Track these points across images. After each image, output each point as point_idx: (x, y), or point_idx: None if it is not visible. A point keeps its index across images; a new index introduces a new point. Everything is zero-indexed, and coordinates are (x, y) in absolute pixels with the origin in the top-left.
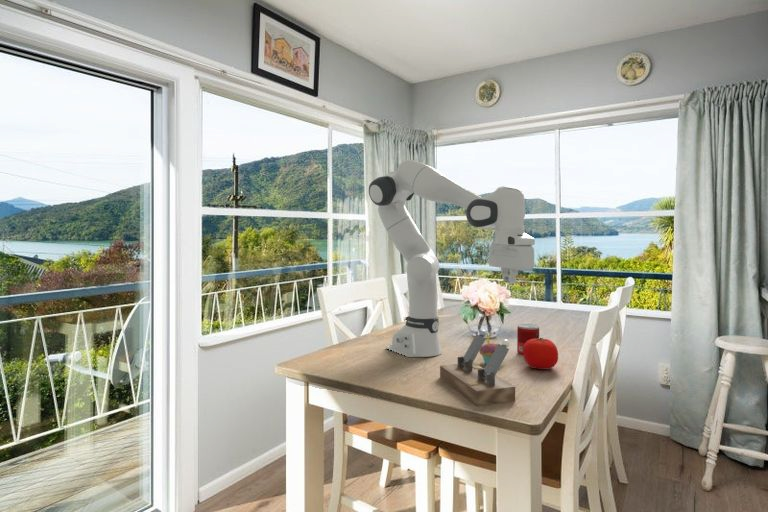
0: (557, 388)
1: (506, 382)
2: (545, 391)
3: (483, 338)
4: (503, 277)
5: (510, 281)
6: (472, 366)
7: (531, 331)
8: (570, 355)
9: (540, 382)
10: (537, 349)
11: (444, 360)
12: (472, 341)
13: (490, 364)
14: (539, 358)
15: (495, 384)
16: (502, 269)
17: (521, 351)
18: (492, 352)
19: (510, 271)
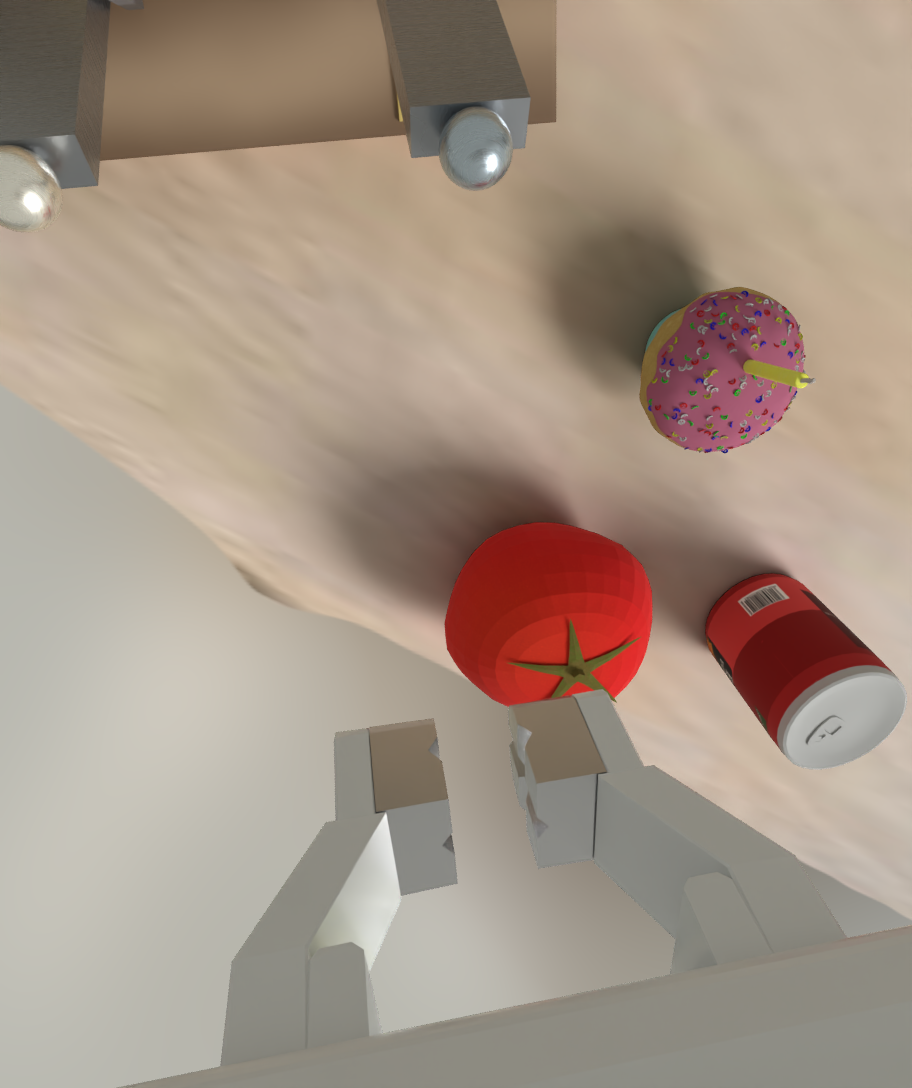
0: (209, 506)
1: None
2: (166, 425)
3: (409, 127)
4: (619, 758)
5: (336, 762)
6: None
7: (778, 703)
8: None
9: (310, 468)
10: (494, 597)
11: (882, 33)
12: (507, 44)
13: (38, 9)
14: (466, 573)
15: None
16: (741, 923)
17: (756, 587)
18: (663, 351)
19: (312, 984)
